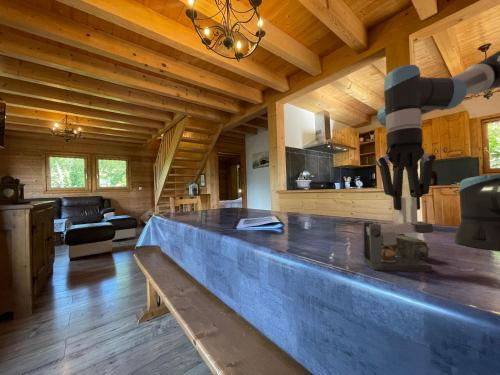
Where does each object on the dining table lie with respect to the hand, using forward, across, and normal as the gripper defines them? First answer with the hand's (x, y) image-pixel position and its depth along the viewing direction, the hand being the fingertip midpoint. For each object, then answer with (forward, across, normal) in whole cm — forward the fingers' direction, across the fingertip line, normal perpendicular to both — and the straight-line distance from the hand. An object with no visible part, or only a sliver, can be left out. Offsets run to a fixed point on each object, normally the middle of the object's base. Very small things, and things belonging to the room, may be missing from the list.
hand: (407, 222), depth 55 cm
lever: (+5, +2, 0) cm, 5 cm away
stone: (+11, -4, -11) cm, 16 cm away
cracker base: (+11, +3, 0) cm, 11 cm away
